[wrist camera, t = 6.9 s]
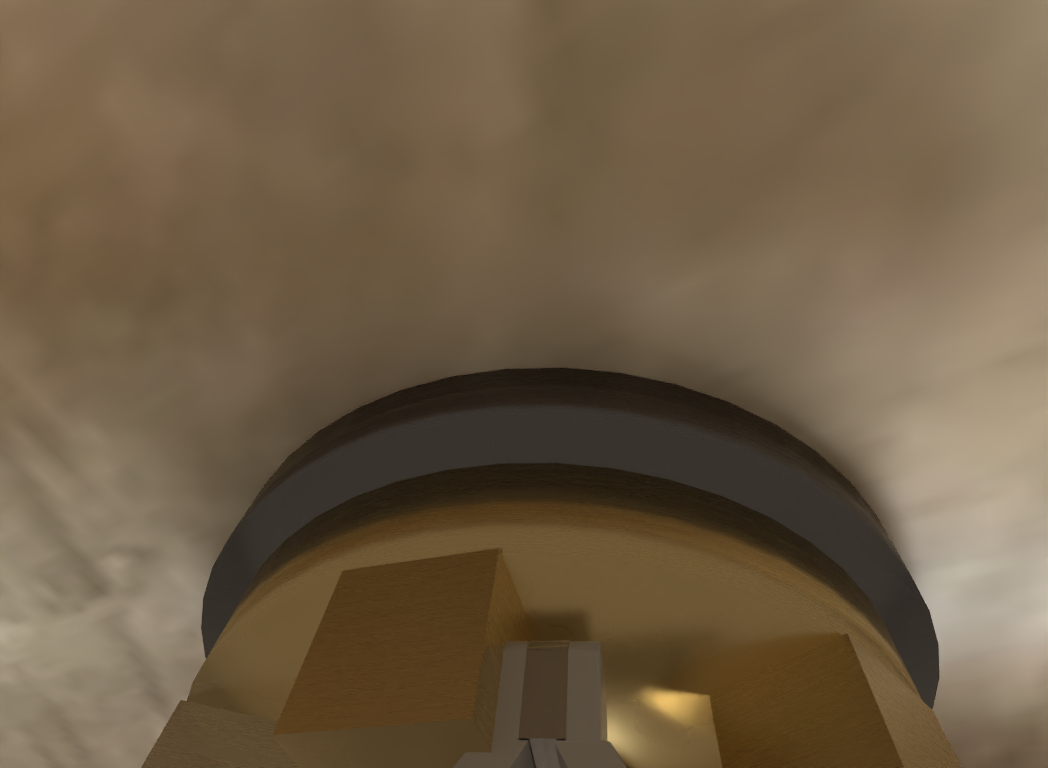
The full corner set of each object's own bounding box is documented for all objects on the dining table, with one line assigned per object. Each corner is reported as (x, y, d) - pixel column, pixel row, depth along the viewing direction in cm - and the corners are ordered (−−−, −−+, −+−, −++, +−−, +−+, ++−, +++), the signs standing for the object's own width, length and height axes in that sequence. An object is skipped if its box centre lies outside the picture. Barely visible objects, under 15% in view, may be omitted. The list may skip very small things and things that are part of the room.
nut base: (1006, 715, 19) (1055, 795, 17) (507, 850, 27) (500, 917, 25) (663, 189, 12) (679, 225, 10) (108, 579, 19) (55, 643, 17)
